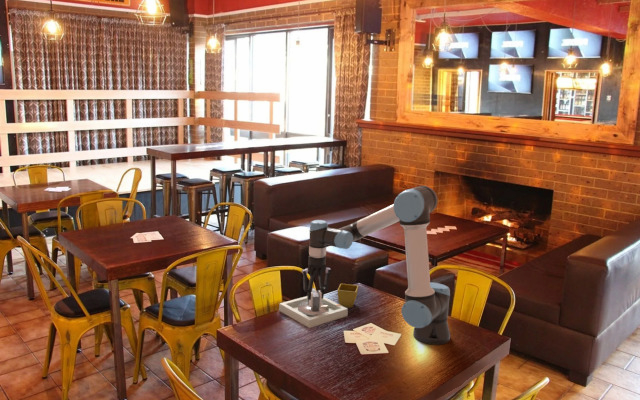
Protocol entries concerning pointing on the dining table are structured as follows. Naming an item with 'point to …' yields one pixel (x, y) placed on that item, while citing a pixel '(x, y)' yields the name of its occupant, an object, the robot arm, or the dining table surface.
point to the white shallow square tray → (309, 321)
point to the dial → (315, 308)
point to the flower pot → (347, 295)
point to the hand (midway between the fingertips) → (315, 305)
